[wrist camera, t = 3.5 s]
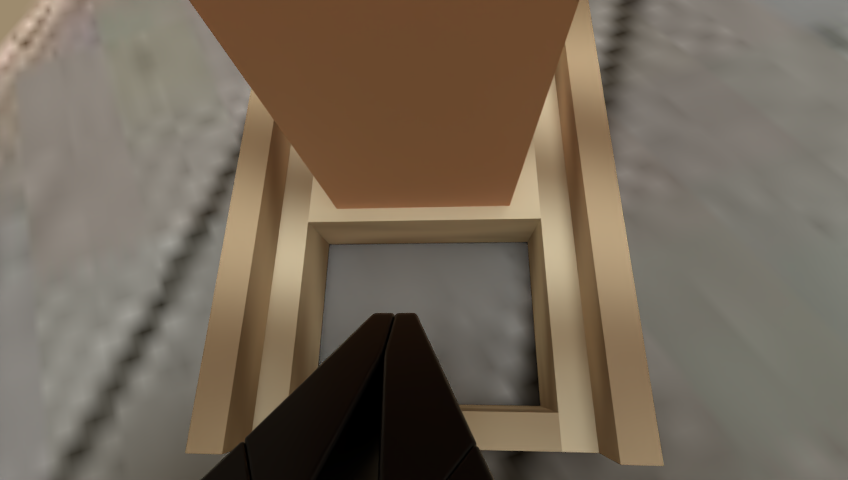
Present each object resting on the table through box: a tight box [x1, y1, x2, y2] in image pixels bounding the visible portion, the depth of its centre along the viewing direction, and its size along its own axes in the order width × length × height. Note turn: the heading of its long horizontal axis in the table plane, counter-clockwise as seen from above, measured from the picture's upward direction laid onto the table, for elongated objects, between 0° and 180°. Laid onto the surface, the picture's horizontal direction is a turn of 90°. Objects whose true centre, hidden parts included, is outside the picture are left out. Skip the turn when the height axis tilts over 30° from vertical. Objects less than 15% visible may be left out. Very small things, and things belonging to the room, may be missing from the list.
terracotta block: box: [189, 0, 579, 209], centre depth 10 cm, size 6×6×9 cm
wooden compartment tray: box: [185, 0, 664, 466], centre depth 17 cm, size 30×12×4 cm, turn 179°
